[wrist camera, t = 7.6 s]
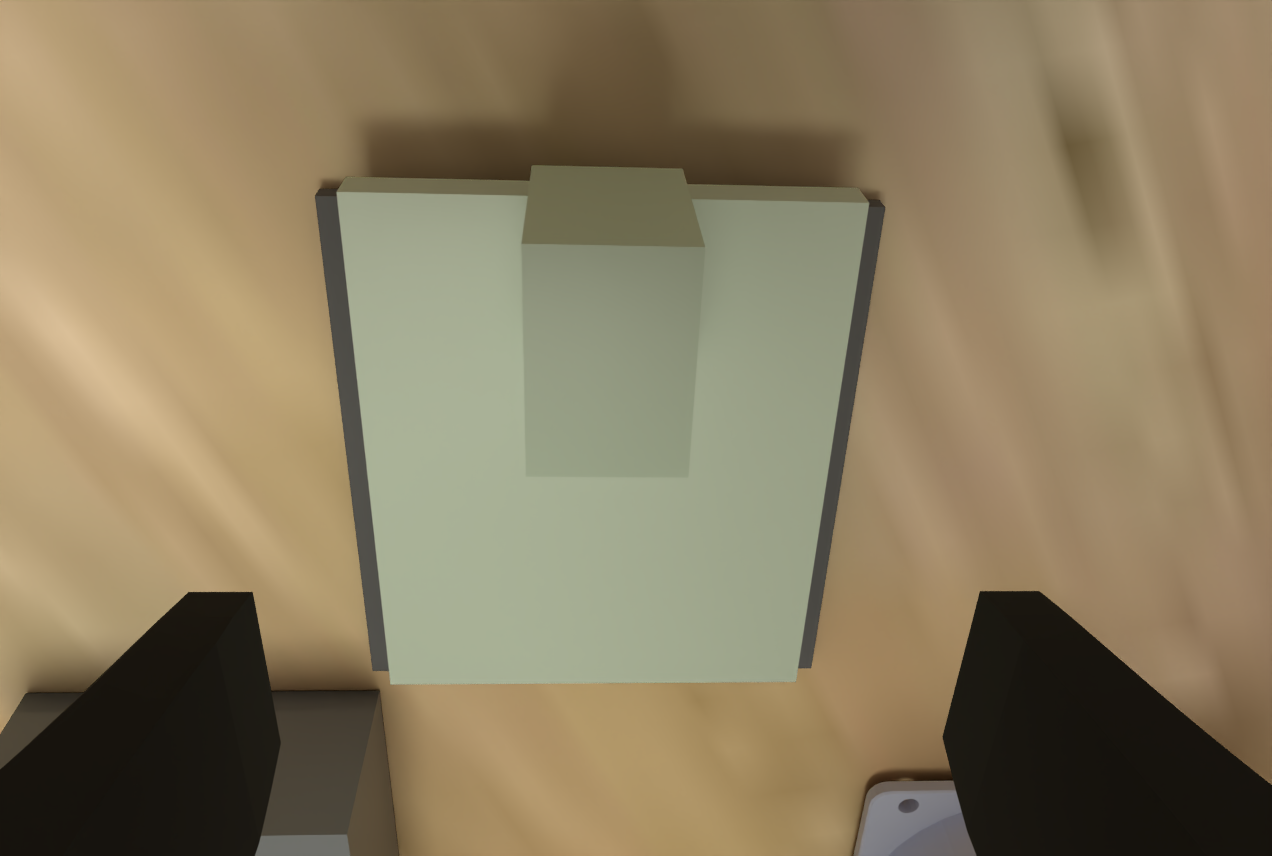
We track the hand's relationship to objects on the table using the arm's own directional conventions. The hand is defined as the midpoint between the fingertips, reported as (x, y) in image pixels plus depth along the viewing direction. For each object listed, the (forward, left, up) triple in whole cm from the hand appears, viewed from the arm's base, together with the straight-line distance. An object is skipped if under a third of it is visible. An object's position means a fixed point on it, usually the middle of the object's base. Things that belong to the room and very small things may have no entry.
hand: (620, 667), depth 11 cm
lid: (0, +3, -9) cm, 10 cm away
